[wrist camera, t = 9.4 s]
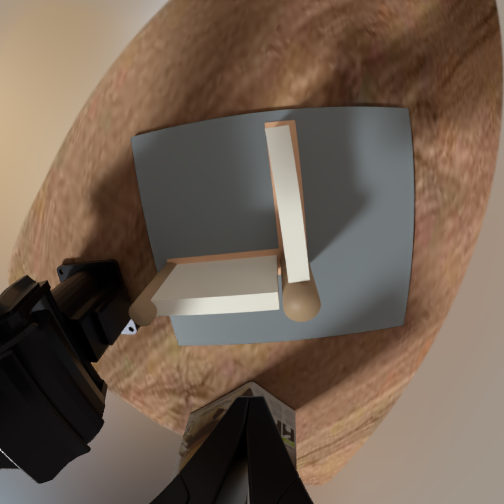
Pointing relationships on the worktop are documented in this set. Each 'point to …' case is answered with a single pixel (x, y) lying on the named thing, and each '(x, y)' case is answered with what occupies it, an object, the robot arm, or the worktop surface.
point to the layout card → (267, 216)
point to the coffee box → (212, 413)
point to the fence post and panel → (225, 290)
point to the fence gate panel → (288, 202)
